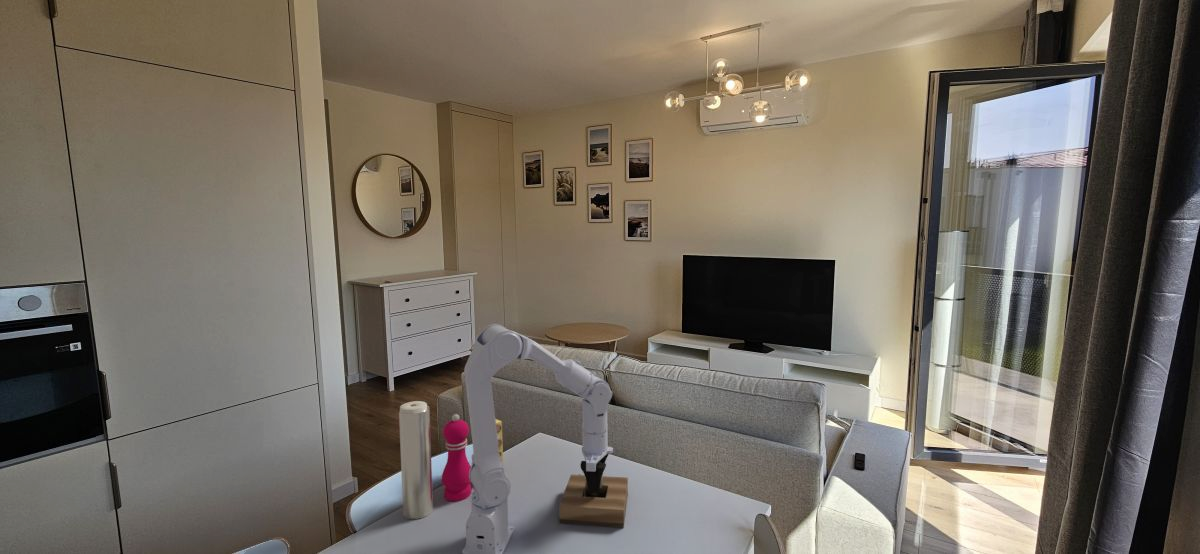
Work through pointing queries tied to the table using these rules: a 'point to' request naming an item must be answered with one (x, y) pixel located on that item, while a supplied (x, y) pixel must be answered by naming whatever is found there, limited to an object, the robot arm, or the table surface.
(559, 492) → the table surface
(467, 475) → the pepper mill
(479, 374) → the robot arm
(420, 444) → the silver cream cylinder
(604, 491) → the bore block
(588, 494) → the pin
